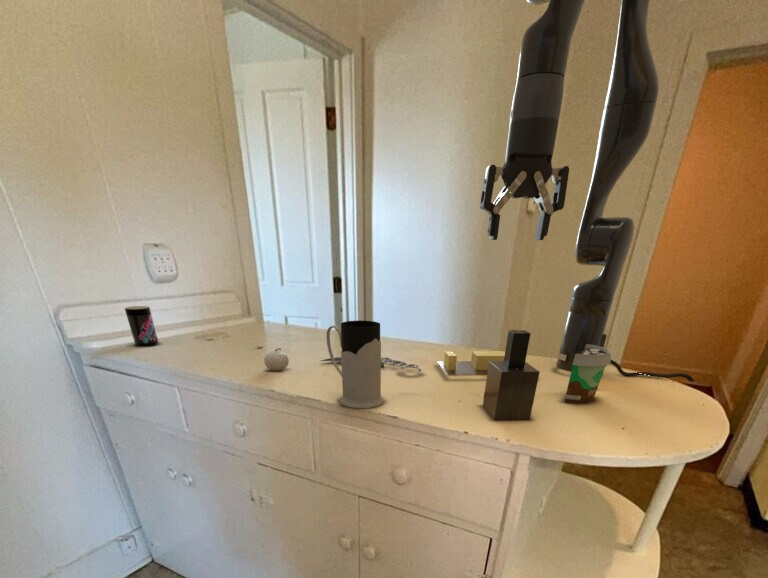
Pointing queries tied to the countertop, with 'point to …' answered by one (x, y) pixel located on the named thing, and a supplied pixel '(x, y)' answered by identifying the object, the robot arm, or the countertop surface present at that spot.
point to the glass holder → (359, 363)
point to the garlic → (276, 360)
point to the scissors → (385, 361)
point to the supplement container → (141, 325)
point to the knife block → (510, 391)
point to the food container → (587, 374)
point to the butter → (485, 358)
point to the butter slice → (450, 360)
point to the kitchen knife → (516, 349)
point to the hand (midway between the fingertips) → (516, 240)
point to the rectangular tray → (462, 369)
